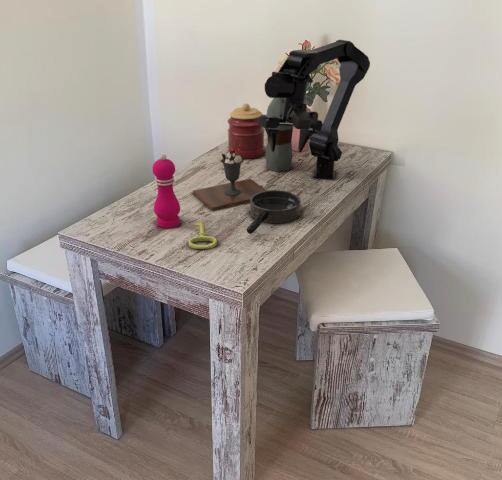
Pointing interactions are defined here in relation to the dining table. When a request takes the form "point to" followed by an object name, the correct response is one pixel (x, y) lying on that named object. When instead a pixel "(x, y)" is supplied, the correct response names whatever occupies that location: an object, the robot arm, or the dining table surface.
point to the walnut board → (219, 199)
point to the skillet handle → (257, 222)
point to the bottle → (279, 141)
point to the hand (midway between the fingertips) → (286, 151)
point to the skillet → (275, 206)
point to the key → (202, 238)
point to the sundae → (232, 169)
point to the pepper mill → (165, 193)
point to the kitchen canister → (246, 132)
